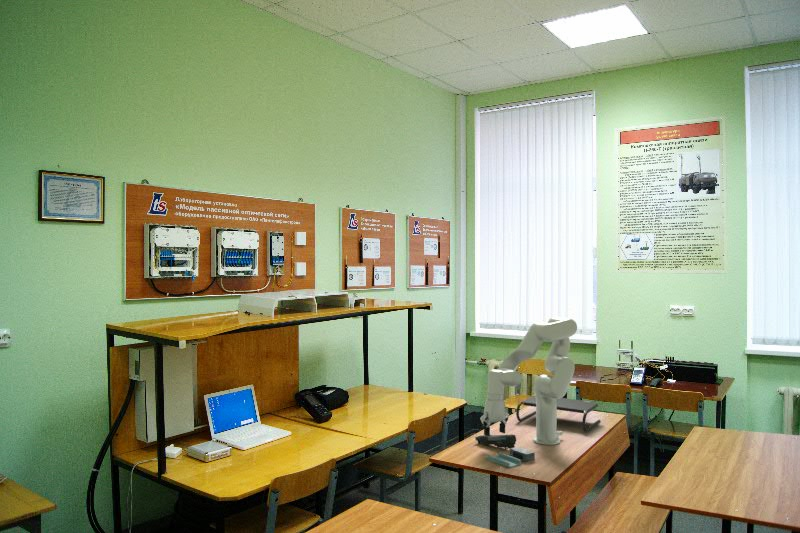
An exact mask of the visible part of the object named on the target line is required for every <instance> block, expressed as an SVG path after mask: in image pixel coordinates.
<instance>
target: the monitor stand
mask: <svg viewBox="0 0 800 533" xmlns="http://www.w3.org/2000/svg"><path fill="white" fill-rule="evenodd" d="M556 404H557V411H562V412H564V411H565V412H570V413H578V414H583V415H582V423H581V424H582V430H583V431H584V432H587V433H588V432H589V431H591V429H593V428H595V426H597V425H599V423H601V419H598V420H596V421H595V422H593V423H592V424H591V425H589V426H588V427H587V426H586V421H587V420H586V419H587V415H588V414H590V412H592V411H593V410H595V409H596V408H598V407H599V404H598V403H597V402H595V401H590V400H583V399H582V400H581V399H575V398H567V397H562V398H560V399H556ZM522 405H523V406H526V407H534V408H536V395H533V396H530V397H528V398H526V399H524V400H522V401H520V402H519V403H518V405H517V407H516V412H515V416H516V419H517V420H518V422H523V421H525V420H528V419H529V418H531V417H532V416H536V410H534V411H533V412H531V413H529V414H526V415H525V416H524V417H520V408H521V406H522Z"/></svg>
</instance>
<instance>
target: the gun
mask: <svg viewBox="0 0 800 533" xmlns="http://www.w3.org/2000/svg"><path fill="white" fill-rule="evenodd" d="M475 441H477V444H478V445H481V444H482V445H483V446H490V445H491V446H492V445H494V447H496V448H504V450H508V449H509V450H510V448H514V447H516V446H515V445H516V442H517V436H516V435H515V434H502V435H501V434H497V435H496V434H493V435H492V434H490V436H487V435H484V434H483V435H480V434H479V435H476V436H475Z"/></svg>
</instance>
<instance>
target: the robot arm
mask: <svg viewBox="0 0 800 533" xmlns="http://www.w3.org/2000/svg"><path fill="white" fill-rule="evenodd" d="M577 330H578V324H577V323H576V321H575V320H574V319H572V318H567V317H562V316H561V317H560V316H553V317H551V318H549V320H548V322H547V323H546V322H539V321H538V322H534V323H532V324H531V326H530V327H529V329H528V331H526V334H525V335H524V336H523V338H522V340H521V342H520V343H519V345H518V346H517V347H516V348H515V349H513V350H512V351H511V352H510V353H509V354H508V355H506V356H505V358H504V359H503V361H502V362H501V363H500V365H499V367H498V369H495V368H493V369H489V370H488V372H487V395H486V397H487V398H486V399H485V402H484V407H483V408H484V409H483V414H482V415H481V417H480V421H481V422H480V423H481V424H482V427H483V435H487V436H490V435H491V427H490V425H491V424H492V423H498V422H499V433H501V434H505V433H506V425H507V422H508V421H509V416H510V413H509V412H507V411H506V401H505V398H504V397H505V395H506V394H505V386H506V387H518V386H519V385H520V384H522V382H523V375H522V374H521V373H520V372H519V371H518V370H516V368H517V367H518V366H519V365H520V364H521V363H523V362H525V361H529V360H530V359H532V358H534V357H535V356H536V354H537V353H538V351H539V349H540V347H541V346H542V344H543V343H544V342H546V343H551V346H550V349H549V351H548V353H547V356H546V359H545V361H544V368H545V371H547V373H549V374H553V375H549V374H540V375H538V376H537V377H535V380H534V382H533V386H534V393H535V395H534V396H536V407H535V411H536V414H535V417H536V418H535V422H536V423H535V426H536V429H535V433H536V434H535V436H533V438H532V440H533V442H534V443H536V444H539V445H543V446H545V445H546V446H554V445H559V444H560V443H561V439H560V438H559V436H563V434H564V431H562V430H559V431H558V425H557V423H558V420H557V419H558V418H557V416H558V414H557V412H558V410H557V404H556V399H560V398H564V397H565V395H566V394H567V392H568V390H569V388H570V386H571V385H570V384H571V382H572V380H573V376H574V375H575V368H576V366H575V362H574V360H573V359H572V358H571V357H569V356H568V355H569V352H570V348H571V340H570V337H573V336H574V335H576V332H577Z"/></svg>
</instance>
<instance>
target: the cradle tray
mask: <svg viewBox="0 0 800 533" xmlns="http://www.w3.org/2000/svg"><path fill="white" fill-rule="evenodd" d="M486 461H489V462H492V463H494V464H496V465H499V466H501V467H505V468H507V469H510V468H515V467H517V466H521V465H522V461H521V460H519V459H517V458H514V457H511V456H510V454H509V455H508V454H505V453H502V452H501V451H498V452H497V456H492V455H489V454H487V455H486Z"/></svg>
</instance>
